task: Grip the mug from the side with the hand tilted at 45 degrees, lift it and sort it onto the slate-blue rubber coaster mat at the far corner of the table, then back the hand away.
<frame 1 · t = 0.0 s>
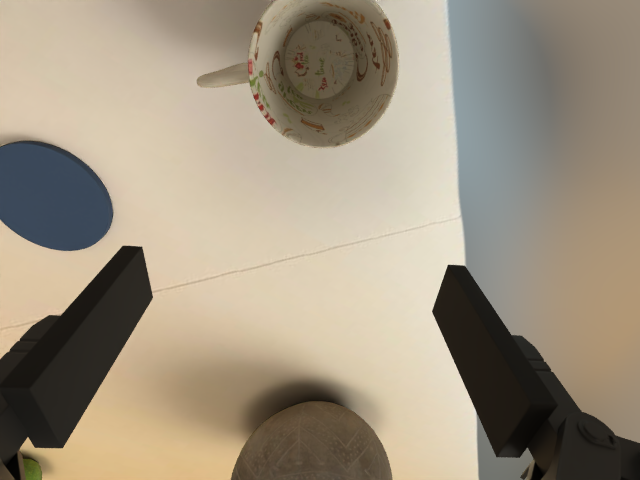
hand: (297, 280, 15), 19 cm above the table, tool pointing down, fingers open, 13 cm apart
coaster: (52, 198, 33), on the table
mug: (293, 65, 28), on the table
bowl: (311, 417, 52), on the table
fruit: (28, 459, 57), on the table
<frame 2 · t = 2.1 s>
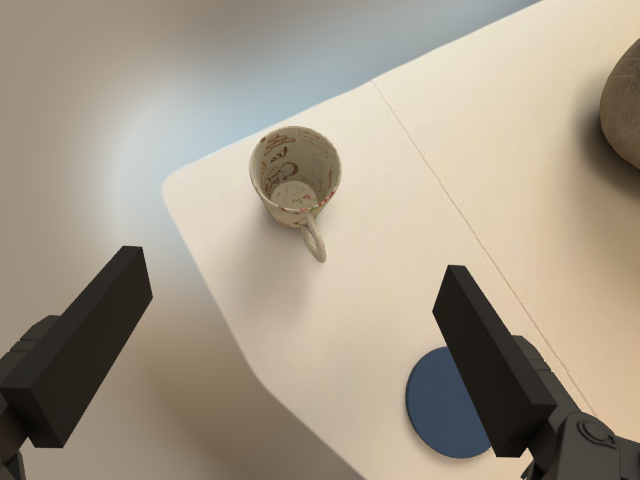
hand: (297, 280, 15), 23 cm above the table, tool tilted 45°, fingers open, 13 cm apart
coaster: (454, 399, 37), on the table
mug: (300, 219, 40), on the table
bowl: (635, 137, 47), on the table
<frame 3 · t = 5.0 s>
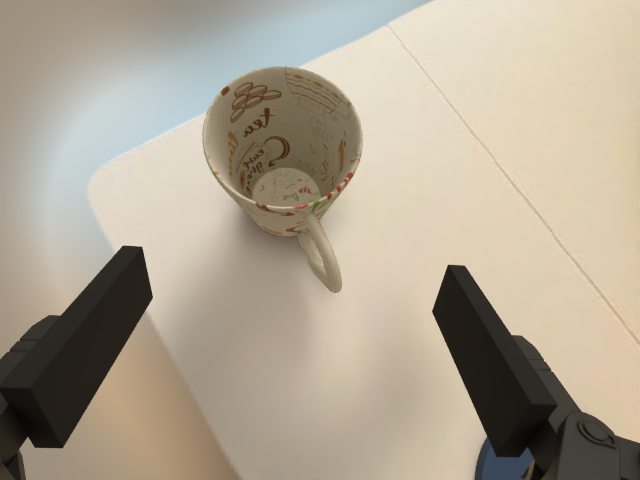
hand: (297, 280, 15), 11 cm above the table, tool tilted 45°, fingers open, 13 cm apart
mug: (298, 224, 27), on the table
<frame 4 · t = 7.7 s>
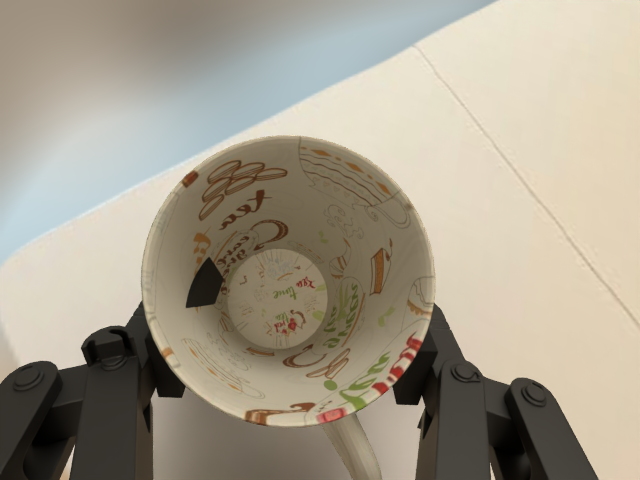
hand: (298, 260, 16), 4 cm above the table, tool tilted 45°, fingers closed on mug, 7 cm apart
mug: (294, 332, 19), on the table, touching gripper
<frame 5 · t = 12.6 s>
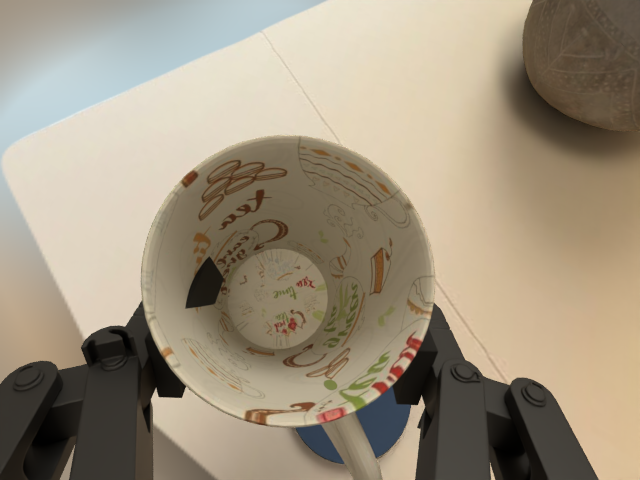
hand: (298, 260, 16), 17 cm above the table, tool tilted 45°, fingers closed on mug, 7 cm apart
coaster: (349, 392, 31), on the table
mug: (294, 332, 19), point 13 cm above the table, touching gripper
bowl: (571, 85, 41), on the table
when the fingers open (4 cm above the table, at t = 17.3 s): mug stays where it is, resting on coaster.
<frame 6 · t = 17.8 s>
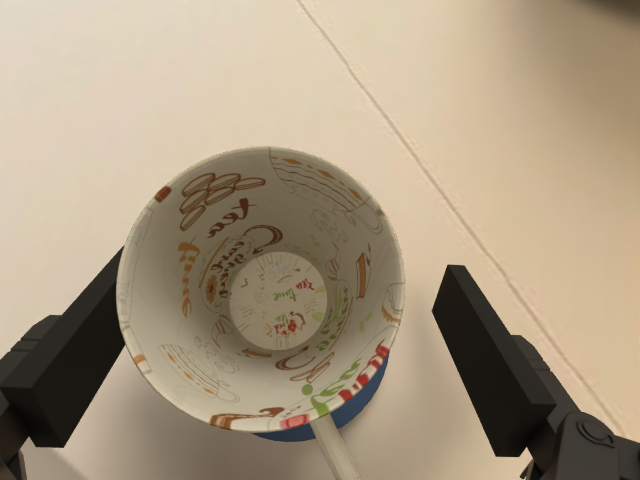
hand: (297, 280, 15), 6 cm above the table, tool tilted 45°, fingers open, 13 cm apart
coaster: (294, 332, 20), on the table
mug: (294, 333, 19), point 1 cm above the table, touching coaster
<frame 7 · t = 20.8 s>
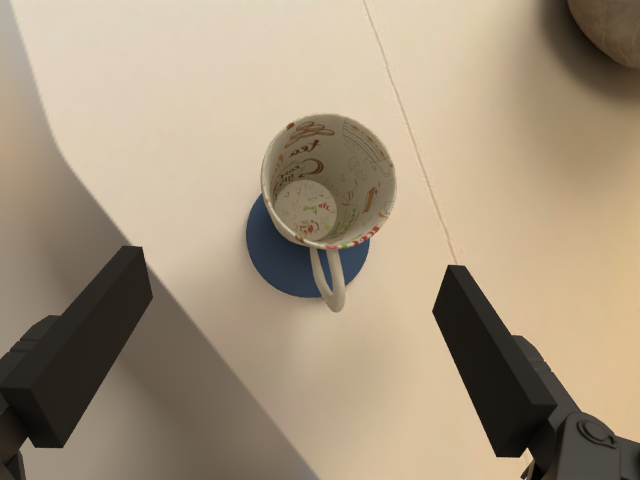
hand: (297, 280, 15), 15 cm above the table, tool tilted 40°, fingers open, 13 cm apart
coaster: (308, 235, 31), on the table
mug: (310, 234, 30), point 1 cm above the table, touching coaster
bowl: (601, 21, 41), on the table
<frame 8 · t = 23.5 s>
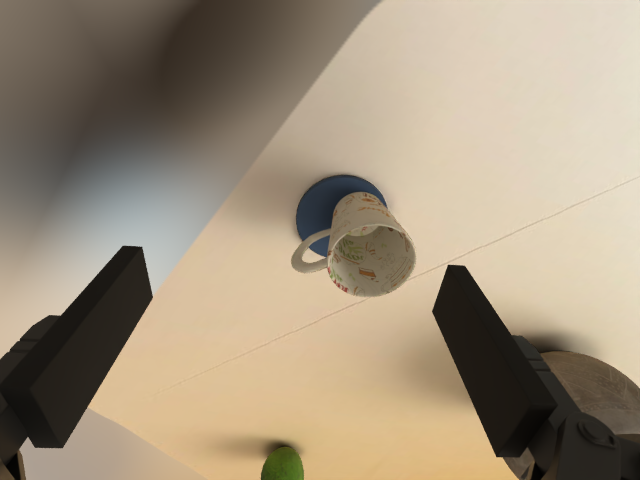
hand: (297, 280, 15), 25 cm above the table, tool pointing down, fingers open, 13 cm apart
coaster: (341, 218, 41), on the table
mug: (341, 220, 41), point 1 cm above the table, touching coaster
bowl: (532, 370, 57), on the table
fruit: (284, 447, 68), on the table
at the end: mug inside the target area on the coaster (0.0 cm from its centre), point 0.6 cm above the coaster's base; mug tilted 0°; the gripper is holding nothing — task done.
